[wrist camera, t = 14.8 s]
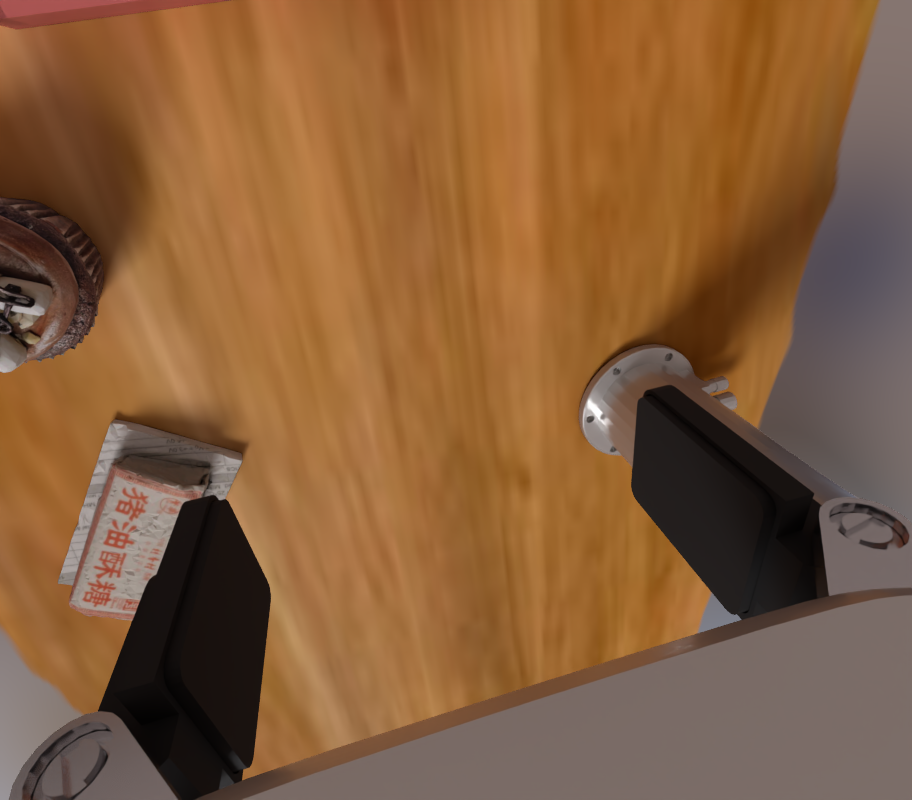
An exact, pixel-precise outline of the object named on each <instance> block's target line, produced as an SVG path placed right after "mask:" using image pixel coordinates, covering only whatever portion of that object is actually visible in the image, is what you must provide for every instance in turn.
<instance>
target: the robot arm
mask: <svg viewBox="0 0 912 800" xmlns="http://www.w3.org/2000/svg"><path fill="white" fill-rule="evenodd" d="M728 386H729V382H728V380H727V379H726V378H725V377H724V376H720V377H717V378H713V379H710V380H709V381H703V380H701V379H699V378H698V377H697V376H695V375H694V371H693V368H692V366H691V364H690V362H689V361H688V360H687V359H686V358H685V357H684V356H683V355H682V354H681V353H679V352H678V351H676V350H675V349H673V348H670V347H668V346H665V345H658V344H651V345H643V346H639V347H635V348H632V349H630V350H628V351H625V352H623V353H621V354H620V355H618V356H617V357H615V358H613V359H612V360H611V361H609V362H608V363H607V364H606V365H605V366H604V367H602V368H601V369H600V371H599V372H598V373H597V374H596V375H595V376H594V378H593V379H592V380H591V382H590V384H589V385H588V387H587V388H586V391H585V393H584V395H583V397H582V400H581V404H580V408H579V423H580V428H581V430H582V432H583V435H584V436H585V438H586V439H587V440H588V441H589V443H590V444H591V445H592V446H593V447H595V448H596V449H597V450H599V451H601V452H603V453H606V454H610V455H622V456H623V457H624V458H625V459H626V461H627V462H628V463H629V464H630V465H631V466H632V467H633V468H632V482H631V488H632V492H633V495H634V497H635V499H636V500H637V501H638V503H639V504H640V505H641V506H642V508H643V509H644V510H645V511H646V512H647V514H648V515H649V516H650V517H651V519H652V520H653V521H654V522H655V523H656V525H657V526H658V527H659V528H660V530H661V531H662V532H663V533H664V534H665V536H666V537H667V538H668V539H669V541H670V542H671V543H672V544H673V545H674V547H675V548H676V549H677V550H678V552H679V553H680V554H681V555H682V556H683V558H684V559H685V560H686V561H687V562H688V564H689V565H690V566H691V567H692V569H693V570H694V571H695V572H696V573H697V575H698V576H699V577H700V578H701V580H702V581H703V582H704V583H705V584H706V586H707V587H708V588H709V589H710V591H711V592H712V593H713V594H714V595H715V596H716V598H717V599H718V600H719V602H720V603H721V604H722V605H723V606H724V608H725V609H726V610H727V611H728V612H730V613H731V614H734V615H735V614H737V615H738V616H739V617H740V618H741V619H742V620H740V621H737V622H733V623H730V624H727V625H724V626H721V627H717V628H714V629H711V630H708V631H705V632H701V633H698V634H695V635H692V636H688V637H685V638H682V639H679V640H675V641H672V642H669V643H666V644H663V645H659V646H656V647H653V648H650V649H646V650H643V651H640V652H637V653H634V654H630V655H627V656H624V657H621V658H617V659H614V660H611V661H608V662H605V663H602V664H598V665H595V666H592V667H589V668H586V669H583V670H579V671H576V672H573V673H570V674H567V675H564V676H560V677H557V678H554V679H551V680H548V681H545V682H541V683H538V684H535V685H532V686H529V687H526V688H523V689H519V690H516V691H513V692H510V693H507V694H504V695H501V696H497V697H494V698H491V699H488V700H485V701H482V702H478V703H475V704H472V705H469V706H466V707H463V708H460V709H457V710H454V711H450V712H447V713H444V714H441V715H438V716H435V717H432V718H429V719H426V720H422V721H419V722H416V723H413V724H410V725H407V726H404V727H401V728H398V729H395V730H391V731H388V732H385V733H382V734H379V735H376V736H373V737H370V738H367V739H364V740H360V741H357V742H354V743H351V744H348V745H345V746H342V747H339V748H336V749H333V750H330V751H327V752H324V753H321V754H318V755H315V756H312V757H309V758H306V759H304V760H301V761H298V762H295V763H292V764H289V765H286V766H283V767H280V768H277V769H274V770H271V771H268V772H265V773H262V774H260V775H257V776H254V777H251V778H248V779H245V780H243V781H242V775H243V769H246V768H249V767H250V766H251V764H252V761H253V756H254V747H255V738H256V729H257V720H258V711H259V702H260V693H261V684H262V675H263V666H264V657H265V647H266V638H267V629H268V620H269V611H270V602H271V593H270V587H269V584H268V581H267V579H266V577H265V575H264V573H263V571H262V569H261V567H260V565H259V563H258V561H257V559H256V557H255V555H254V553H253V551H252V549H251V547H250V545H249V542H248V540H247V538H246V536H245V534H244V532H243V530H242V528H241V526H240V524H239V522H238V520H237V518H236V516H235V514H234V512H233V510H232V508H231V506H230V504H229V502H228V501H227V500H226V499H223V500H219V499H218V498H217V497H216V496H215V495H210V496H206V497H202V498H197V499H193V500H189V501H186V502H184V503H183V504H182V506H181V509H180V511H179V514H178V517H177V520H176V522H175V525H174V528H173V530H172V533H171V536H170V539H169V541H168V544H167V547H166V549H165V552H164V555H163V558H162V560H161V563H160V566H159V569H158V571H157V574H156V575H154V576H153V577H151V578H150V579H149V581H148V583H147V584H146V586H145V589H144V592H143V594H142V597H141V599H140V602H139V605H138V607H137V610H136V613H135V615H134V618H133V620H132V623H131V626H130V628H129V631H128V634H127V636H126V639H125V641H124V644H123V647H122V649H121V652H120V655H119V657H118V660H117V662H116V665H115V668H114V670H113V673H112V676H111V678H110V681H109V683H108V686H107V689H106V691H105V694H104V697H103V699H102V702H101V704H100V707H99V710H98V712H94V713H90V714H85V715H83V716H81V717H79V718H77V719H75V720H73V721H70V722H69V723H67V724H66V725H64V726H63V727H62V728H60V729H59V730H57V731H56V732H54V733H53V734H52V735H51V736H50V737H48V738H47V739H46V740H45V741H44V742H43V743H42V744H41V745H40V746H39V747H38V748H37V749H36V750H35V751H34V753H33V754H32V755H31V756H30V758H29V759H28V760H27V762H26V763H25V764H24V765H23V767H22V768H21V770H20V773H19V774H18V776H17V778H16V780H15V782H14V784H13V786H12V789H11V793H10V797H9V800H912V523H911V522H910V521H909V520H908V519H907V518H906V517H904V516H903V515H901V514H900V513H898V512H896V511H895V510H893V509H891V508H889V507H887V506H884V505H882V504H880V503H877V502H873V501H870V500H866V499H861V498H857V497H855V496H854V495H852V494H851V493H849V492H848V491H846V490H845V489H843V488H842V487H840V486H839V485H837V484H836V483H834V482H833V481H831V480H830V479H828V478H827V477H825V476H824V475H822V474H821V473H819V472H818V471H816V470H815V469H814V468H812V467H811V466H809V465H808V464H806V463H805V462H804V461H802V460H801V459H799V458H798V457H797V456H795V455H794V454H792V453H791V452H789V451H788V450H786V449H785V448H784V447H782V446H781V445H779V444H778V443H777V442H775V441H774V440H772V439H771V438H770V437H768V436H767V435H765V434H764V433H763V432H761V431H760V430H758V429H757V428H756V427H754V426H753V425H751V424H750V423H749V422H747V421H746V420H744V419H743V418H742V417H740V416H739V415H737V414H736V413H735V412H733V411H732V410H734V409H735V408H736V406H737V399H736V397H735V395H734V394H733V393H731V392H725V393H721V394H718V395H715V396H711V395H710V393H712V392H718V391H721V390H725V389H727V388H728Z"/></svg>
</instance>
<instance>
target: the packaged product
mask: <svg viewBox="0 0 912 800" xmlns="http://www.w3.org/2000/svg"><path fill="white" fill-rule="evenodd" d="M241 463H242V454H241V453H238V452H236V451H232V450H229V449H225V448H221V447H218V446H214V445H211V444H207V443H204V442H200V441H196V440H193V439H190V438H186V437H183V436H179V435H176V434H172V433H169V432H165V431H161V430H158V429H154V428H151V427H147V426H144V425H140V424H136V423H131V422H126V421H121V420H116V419H115V420H114V421H113V422H112V423H111V424H110V427H109V429H108V432H107V435H106V438H105V441H104V443H103V446H102V449H101V452H100V455H99V458H98V461H97V464H96V467H95V470H94V473H93V476H92V479H91V482H90V486H89V489H88V492H87V495H86V498H85V501H84V504H83V506H82V509H81V513H80V516H79V522H78V524H77V526H76V529H75V532H74V535H73V537H72V540H71V543H70V547H69V550H68V554H67V556H66V559H65V562H64V565H63V569H62V571H61V574H60V577H59V580H58V584H68V585H73V587H72V592H71V595H70V600H69V605H70V607H71V608H73V609H75V610H77V611H79V612H82V614H84V615H87V616H99V617H110V618H116V619H122V620H133V618H134V615H135V613H136V610H137V607H138V605H139V602H140V599H141V597H142V594H143V592H144V589H145V586H146V584H147V583H148V581H149V579H150V578H151V577H153V576H154V575H156V574H157V571H158V569H159V566H160V563H161V560H162V558H163V555H164V552H165V549H166V547H167V544H168V541H169V539H170V536H171V533H172V530H173V528H174V525H175V522H176V520H177V517H178V514H179V511H180V509H181V506H182V504H183V503H184V502H186V501H189V500H193V499H197V498H202V497H206V496H210V495H215V496H216V497H217V498H218V499H219V500H223V499H225V498H226V495H227V493H228V491H229V489H230V487H231V485H232V482H233V480H234V478H235V476H236V474H237V471H238V469H239V467H240V465H241Z"/></svg>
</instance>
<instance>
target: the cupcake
mask: <svg viewBox="0 0 912 800" xmlns="http://www.w3.org/2000/svg"><path fill="white" fill-rule="evenodd" d="M102 266H103V262H102V261H101V255H100V254H99V252H98V251H97V248H96V246H95V245H94V244H93V243H92V241H91V239H90V238H89V237H88V236H87V235H86V234H85V233H84V232H83V231H82V229H81V228H80V227H79V226H78V224H77V223H75V222H73V221H72V220H70V219H68V218H67V217H65V216H61V215H59V214H58V213H56V212H55V211H54V210H53V209H51V208H49V207H47V206H45V205H43V204H42V203H39V202H35V201H31V200H23V199H13V198H3V197H0V372H3V373H6V372H11V371H12V370H14V369H16V368H17V367H19V366H20V365H22V363H23V362H25V363H27V362H28V361H30V360H38V361H39V362H41V361H42V359H45V358H52V359H54V357H55V356H56V355H64V353H65V351H67V350H68V349H69V348H72V349H75V348H76V345H77V343H82V342H83V339H84V335H88V334H89V332H90V328H91V327H94V324H95V316H98V304H99V298H100V295H101V292H102V289H103V288H102V284H103V280H104V272H103V268H102Z"/></svg>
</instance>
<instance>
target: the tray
mask: <svg viewBox="0 0 912 800" xmlns="http://www.w3.org/2000/svg"><path fill="white" fill-rule="evenodd" d="M222 1H229V0H0V25H1V26H5V27H9V28H13V29H22V28H30V27H37V26H44V25H52V24H59V23H67V22H74V21H81V20H89V19H96V18H104V17H111V16H118V15H126V14H133V13H141V12H148V11H155V10H163V9H170V8H178V7H185V6H192V5H200V4H207V3H215V2H222Z"/></svg>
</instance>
